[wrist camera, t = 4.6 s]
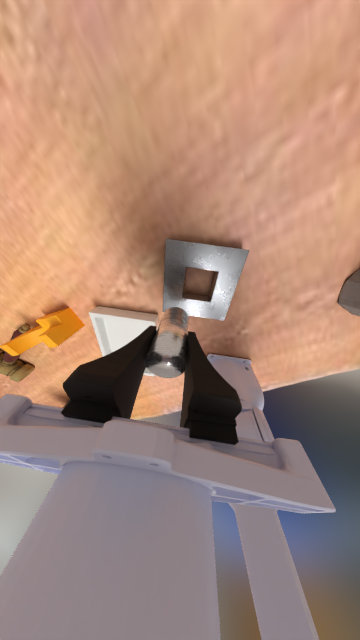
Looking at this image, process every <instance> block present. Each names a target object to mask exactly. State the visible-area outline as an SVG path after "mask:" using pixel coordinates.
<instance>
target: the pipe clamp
mask: <svg viewBox="0 0 360 640" xmlns="http://www.w3.org/2000/svg"><path fill="white" fill-rule="evenodd" d="M35 321H36V322H37V323H38V324H39V325H40V326H36V327H34V328H32V329H31V330H29V331H27V332H25V333H23V334H21V335H20V336H18V337H16V338H14V339H12V340H10V341H9V342H7V343H5V344H3V345H1V346H0V347H1V348H2V349H3V350H5V351H6V352H7V353H9V354H10V355H12V356H16V355H20V354H21V353H23V352H24V351H26V350H28V349H29V348H31V347H33V346H35V345H37V344H39V343H41V342H44V343H45V344H46V345H47V346H48V347H49V348H52V347H57V346H59V345H60V344H61V343H63V342H64V341H65V340H67V339H68V338H69V337H70V336H72V335H73V334H74V333H76V332H77V331H78V330H79V329H81V328H82V327H83V326H85V325H84V324H83V323H82V321H81V320H80V319H79V318H78V317H77V315H76V314H75V313H74V312H73V311H72V309H71V308H67V309H64V310H61V311H57V312H54V313H51V314H48V315H45V316H43V317H41V318H39V319H37V320H35Z"/></svg>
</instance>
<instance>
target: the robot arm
mask: <svg viewBox="0 0 360 640" xmlns="http://www.w3.org/2000/svg"><path fill="white" fill-rule="evenodd" d="M155 334H156V326H151V325H150V326H149V327H148V328H147V329H146V330H144V331H143V332H142V333H141V334H140V335H139V336H137V337H136V338H135V339H133V340H132V341H131V342H129V343H128V344H126V345H125V346H123V347H121V348H120V349H118V350H116V351H114V352H112V353H110V354H108V355H106V356H104V357H101V358H99V359H96V360H94V361H91V362H88V363H85V364H82V365H80V366H79V367H78V368H77V369H76V370H75V371H74V372H73V373H72V374H71V375H70V376H69V377H68V379H67V380H66V381H65V382H64V383H63V388H64V390H65V392H66V393H67V395H68V396H69V398H70V399H71V400H70V401H69V402H68V404H67V405H66V406H65V408H59V407H53V406H47V405H41V404H35V403H33V402H32V401H31V400H30V399H29V398H27V397H25V396H20V395H14V394H6V395H4V396H3V397H2V398H1V399H0V463H5V464H10V465H15V466H20V467H25V468H30V469H35V470H40V471H44V472H50V473H54V474H59V475H58V477H57V479H56V480H55V482H54V484H53V486H52V487H51V489H50V491H49V492H48V494H47V496H46V498H45V499H44V501H43V503H42V505H41V506H40V508H39V510H38V512H37V513H36V515H35V517H34V518H33V520H32V522H31V524H30V526H29V527H28V529H27V531H26V532H25V534H24V536H23V538H22V539H21V541H20V543H19V544H18V546H17V548H16V550H15V551H14V553H13V555H12V557H11V559H10V560H9V562H8V564H7V565H6V567H5V569H4V571H3V572H2V574H1V576H0V640H220V627H219V626H220V625H219V611H218V596H217V581H216V566H215V552H214V538H213V522H212V507H211V501H218V502H226V503H229V504H230V506H231V507H232V508H233V510H234V511H235V515H236V519H237V524H238V529H239V534H240V539H241V543H242V548H243V553H244V558H245V562H246V567H247V572H248V577H249V581H250V586H251V591H252V596H253V601H254V605H255V610H256V614H257V619H258V624H259V629H260V634H261V639H262V640H319V638H318V635H317V632H316V629H315V626H314V623H313V620H312V617H311V614H310V611H309V608H308V605H307V602H306V599H305V596H304V593H303V590H302V587H301V584H300V581H299V578H298V575H297V572H296V569H295V566H294V563H293V560H292V557H291V554H290V551H289V548H288V545H287V542H286V539H285V536H284V533H283V530H282V527H281V524H280V521H279V518H278V515H277V510H285V511H292V512H298V513H323V512H335V510H336V509H335V508H334V506H333V504H332V502H331V500H330V498H329V496H328V494H327V492H326V491H325V489H324V487H323V485H322V483H321V481H320V479H319V477H318V475H317V474H316V472H315V470H314V468H313V466H312V464H311V462H310V460H309V458H308V457H307V455H306V453H305V451H304V449H303V447H302V445H301V443H300V442H299V441H296V440H290V439H284V438H277V439H275V440H274V438H273V435H272V433H271V430H270V428H269V426H268V423H267V421H266V419H265V416H264V414H263V412H262V410H263V407H264V397H263V392H262V389H261V387H260V385H259V383H258V380H257V378H256V376H255V374H254V372H253V370H252V367H251V365H250V364H251V360H249V359H243V358H236V357H229V356H222V355H216V354H208V356H207V357H206V355H205V354H204V352H203V350H202V348H201V346H200V344H199V342H198V340H197V337H196V334H195V332H189V331H188V336H187V353H186V368H185V378H184V391H183V402H182V412H181V422H180V427H176V426H169V425H163V424H157V423H151V422H145V421H139V420H133V419H130V417H131V413H132V410H133V406H134V403H135V399H136V396H137V392H138V389H139V386H140V383H141V380H142V377H143V374H144V371H145V368H146V366H145V358H146V355H147V353H148V351H149V348H150V346H151V343H152V341H153V339H154V336H155Z"/></svg>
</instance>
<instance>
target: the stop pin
mask: <svg viewBox="0 0 360 640" xmlns="http://www.w3.org/2000/svg"><path fill="white" fill-rule="evenodd" d="M188 322H189V317H188V314H187V313H186V311H185V310H183V309H181V308H179V307H171V308H169V309H167V310H166V311H165V312H164V314H163V317H162V319H161V322H160V324H159V327H158V329H157V331H156V334H155V336H154V339H153V341H152V343H151V346H150V348H149V351H148V353H147V355H146V358H145V366H146V368H147V369H148V370H149V371H150V372H151V373H153V374H154V375H157V376H159V377H163V378H174V377H177V376H180V375H181V374H182V373H183V372H184V371H185V368H186V353H187V336H188Z"/></svg>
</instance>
